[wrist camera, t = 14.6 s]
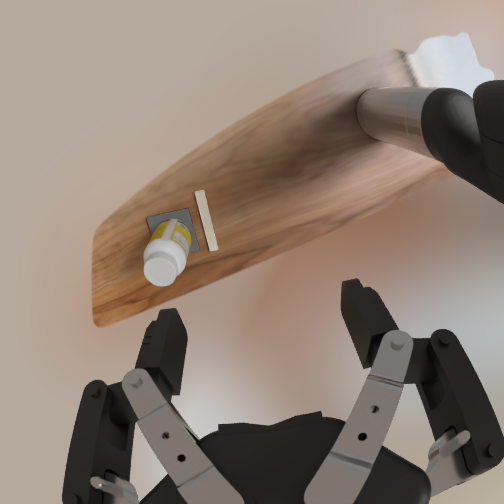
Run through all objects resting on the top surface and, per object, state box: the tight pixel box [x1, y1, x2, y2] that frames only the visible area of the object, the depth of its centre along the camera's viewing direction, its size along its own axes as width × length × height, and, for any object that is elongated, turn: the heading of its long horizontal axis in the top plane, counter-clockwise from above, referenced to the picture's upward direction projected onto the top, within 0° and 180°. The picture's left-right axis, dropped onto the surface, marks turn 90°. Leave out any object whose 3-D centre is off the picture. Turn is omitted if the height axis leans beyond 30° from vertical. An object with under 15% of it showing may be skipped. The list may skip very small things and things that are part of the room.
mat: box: [146, 208, 200, 253], centre depth 45 cm, size 8×8×1 cm
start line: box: [195, 190, 218, 251], centre depth 45 cm, size 2×11×1 cm, turn 10°
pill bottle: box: [143, 219, 192, 286], centre depth 40 cm, size 6×6×12 cm
